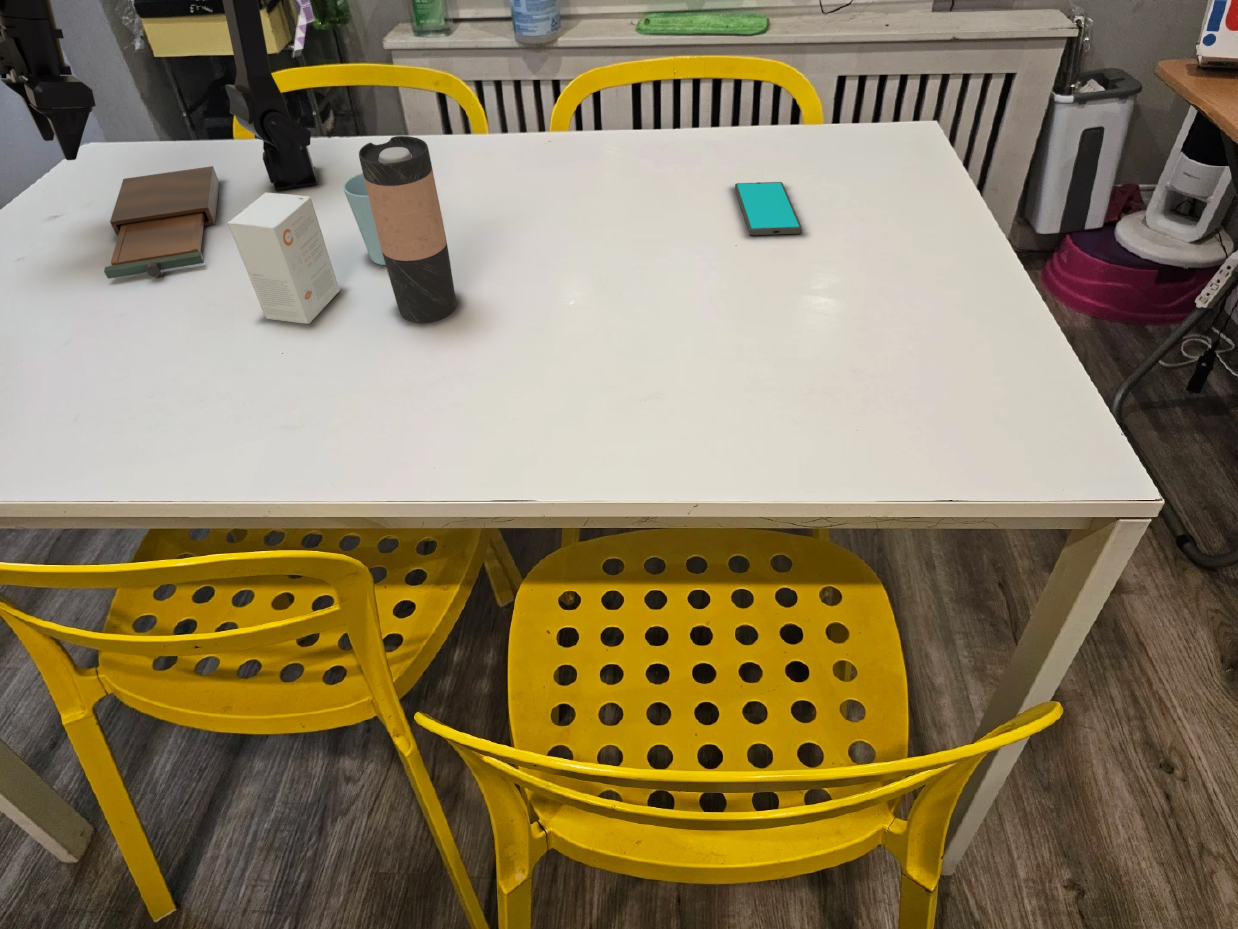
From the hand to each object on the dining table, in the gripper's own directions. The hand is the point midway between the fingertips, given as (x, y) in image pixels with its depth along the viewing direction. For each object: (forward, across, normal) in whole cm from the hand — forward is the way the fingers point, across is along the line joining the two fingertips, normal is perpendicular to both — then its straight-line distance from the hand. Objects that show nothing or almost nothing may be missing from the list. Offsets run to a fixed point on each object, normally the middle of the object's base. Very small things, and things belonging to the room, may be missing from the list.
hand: (59, 149), depth 104 cm
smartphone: (-3, +61, +74) cm, 96 cm away
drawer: (+12, +8, +7) cm, 16 cm away
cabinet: (+11, -5, +14) cm, 18 cm away
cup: (+8, +32, +29) cm, 44 cm away
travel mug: (+8, +47, +26) cm, 54 cm away
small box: (+11, +35, +15) cm, 40 cm away
